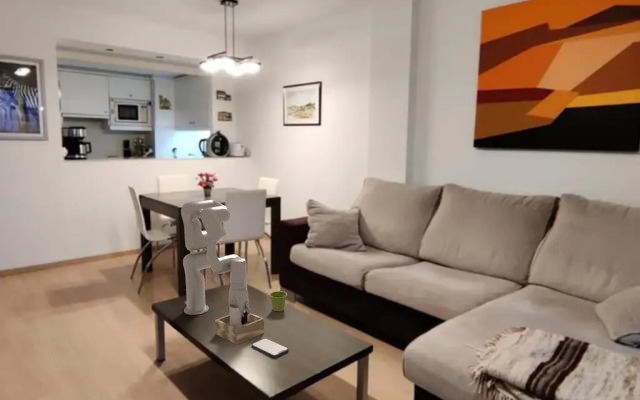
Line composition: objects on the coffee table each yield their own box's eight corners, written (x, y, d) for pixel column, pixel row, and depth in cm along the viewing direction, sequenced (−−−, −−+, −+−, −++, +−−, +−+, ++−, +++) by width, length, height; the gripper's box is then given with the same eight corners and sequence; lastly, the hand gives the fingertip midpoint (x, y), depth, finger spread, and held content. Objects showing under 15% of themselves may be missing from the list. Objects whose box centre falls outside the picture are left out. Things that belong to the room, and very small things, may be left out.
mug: (232, 333, 193) (232, 309, 191) (227, 328, 199) (227, 304, 197) (253, 328, 198) (252, 304, 197) (247, 323, 204) (247, 299, 202)
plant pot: (290, 308, 228) (290, 293, 227) (279, 314, 221) (279, 298, 219) (277, 305, 233) (276, 290, 232) (266, 310, 226) (265, 295, 224)
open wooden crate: (215, 334, 198) (215, 320, 197) (242, 323, 210) (242, 309, 209) (237, 344, 188) (237, 329, 187) (264, 332, 200) (263, 318, 199)
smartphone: (250, 347, 186) (274, 359, 176) (250, 344, 186) (274, 356, 176) (265, 341, 193) (289, 351, 182) (265, 337, 193) (289, 348, 182)
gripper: (220, 282, 198) (221, 318, 201) (244, 291, 187) (245, 329, 190) (233, 278, 204) (234, 314, 207) (257, 287, 193) (257, 324, 196)
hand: (239, 321), depth 198 cm, fingers closed on mug, 6 cm apart
